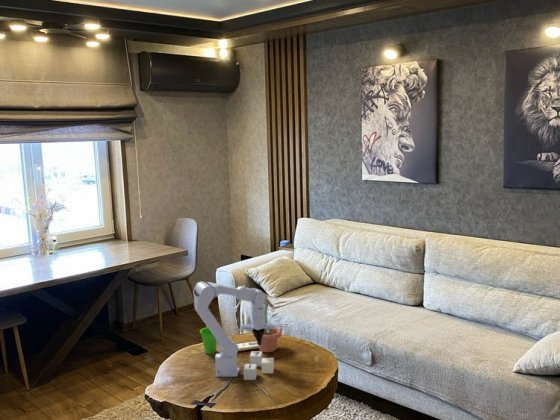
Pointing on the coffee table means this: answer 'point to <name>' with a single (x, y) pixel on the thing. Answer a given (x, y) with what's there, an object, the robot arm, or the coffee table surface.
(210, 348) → the cup
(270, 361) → the cream block
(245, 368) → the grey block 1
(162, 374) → the coffee table surface
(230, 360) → the robot arm
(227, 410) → the coffee table surface
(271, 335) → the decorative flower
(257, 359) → the white marked cube 7
